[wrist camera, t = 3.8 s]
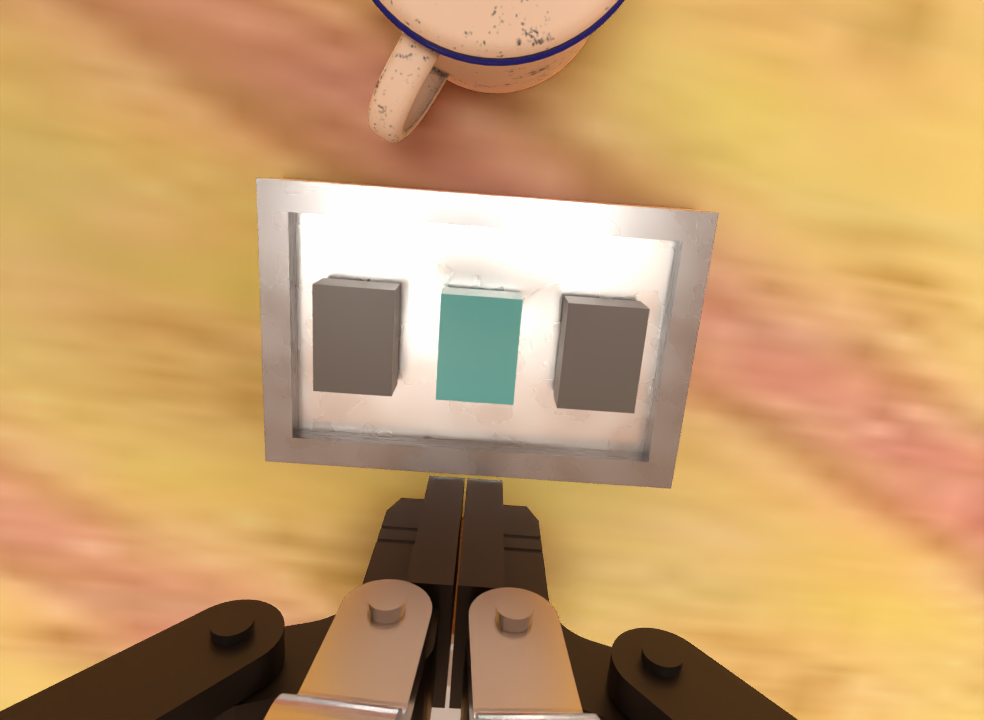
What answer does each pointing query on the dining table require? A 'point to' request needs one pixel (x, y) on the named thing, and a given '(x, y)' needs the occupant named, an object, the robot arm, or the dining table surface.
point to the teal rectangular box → (478, 345)
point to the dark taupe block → (600, 354)
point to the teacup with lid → (475, 51)
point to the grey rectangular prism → (355, 336)
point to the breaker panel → (488, 266)
